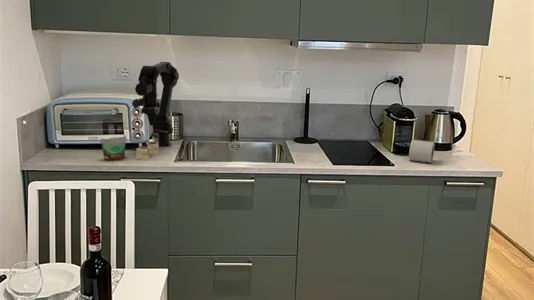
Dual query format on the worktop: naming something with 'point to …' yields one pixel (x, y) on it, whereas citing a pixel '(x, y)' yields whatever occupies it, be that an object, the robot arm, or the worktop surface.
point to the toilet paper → (421, 151)
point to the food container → (113, 148)
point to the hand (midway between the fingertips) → (151, 125)
